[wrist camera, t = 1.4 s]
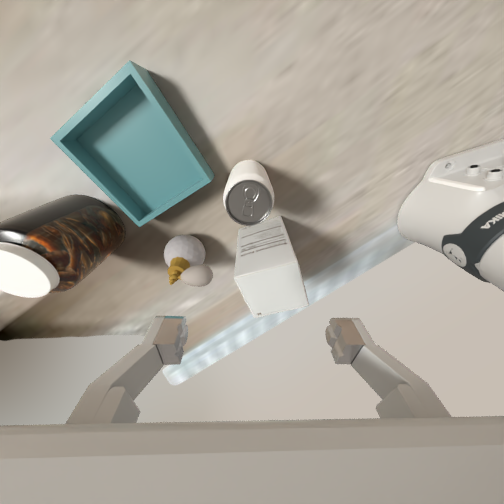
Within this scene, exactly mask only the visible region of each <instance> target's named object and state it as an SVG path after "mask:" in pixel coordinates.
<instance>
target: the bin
mask: <svg viewBox="0 0 504 504" xmlns="http://www.w3.org/2000/svg"><path fill="white" fill-rule="evenodd" d="M50 139H51V140H52V141H53V142H54V143H55V144H56V145H57V146H58V147H59V148H60V149H61V150H62V151H63V152H64V153H65V154H66V155H67V156H68V157H69V158H70V159H71V160H72V161H73V162H74V163H75V164H76V165H77V166H78V167H79V168H80V169H81V170H82V171H83V172H84V173H85V174H86V175H87V176H88V177H89V178H90V179H91V180H92V181H93V182H94V183H95V184H96V185H97V186H98V187H99V188H100V189H101V190H102V191H103V192H104V193H105V194H106V195H107V196H108V197H109V198H110V199H111V200H112V201H113V202H114V203H115V204H116V205H117V206H118V207H119V208H120V209H121V210H122V211H123V212H124V213H125V214H126V215H127V216H128V217H129V218H130V219H131V220H132V221H133V222H134V223H135V224H136V225H137V226H138V227H141V226H142V225H144V224H145V223H147V222H148V221H150V220H152V219H153V218H155V217H156V216H158V215H159V214H161V213H163V212H164V211H166V210H167V209H169V208H170V207H172V206H173V205H175V204H177V203H178V202H180V201H181V200H183V199H184V198H186V197H187V196H189V195H191V194H192V193H194V192H195V191H197V190H198V189H200V188H202V187H203V186H205V185H206V184H208V183H209V182H211V181H212V179H213V178H214V176H215V175H214V173H213V172H212V170H211V168H210V167H209V165H208V164H207V162H206V161H205V159H204V158H203V156H202V155H201V153H200V151H199V150H198V148H197V147H196V145H195V144H194V142H193V141H192V139H191V138H190V136H189V134H188V133H187V131H186V130H185V128H184V127H183V125H182V124H181V122H180V121H179V119H178V117H177V116H176V114H175V113H174V111H173V110H172V108H171V107H170V105H169V104H168V102H167V101H166V99H165V97H164V96H163V94H162V93H161V91H160V90H159V88H158V87H157V85H156V84H155V82H154V80H153V79H152V77H151V76H150V74H149V73H148V71H147V70H146V69H145V68H143V67H141V66H139V65H137V64H135V63H134V62H132V61H129V62H128V63H127V64H125V65H124V66H123V67H122V68H121V69H120V70H119V71H118V72H117V73H116V74H115V75H114V76H113V77H112V78H111V79H110V80H109V81H108V82H107V83H106V84H105V85H104V86H103V87H102V88H101V89H100V90H99V91H98V92H97V93H96V94H95V95H94V96H93V97H92V98H91V99H90V100H89V101H88V102H87V103H86V104H85V105H84V106H83V107H82V108H81V109H80V110H79V111H78V112H77V113H76V114H74V115H73V116H72V117H71V118H70V119H69V120H68V121H67V122H66V123H65V124H64V125H63V126H62V127H61V128H60V129H59V130H58V131H57V132H56V133H55V134H54V135H53V136H52V137H51V138H50Z"/></svg>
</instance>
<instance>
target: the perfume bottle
mask: <svg viewBox="0 0 504 504" xmlns="http://www.w3.org/2000/svg"><path fill="white" fill-rule="evenodd" d="M164 258H165V262H166V264H167V265H168V267H169V268H168V274H169V275H170V277H169V280H170V281H169V283H170V285H172V284H173V283H174V282H175V281H177V280H178V279H180V280H181V281H183V282H184V283H185V284H188V285H191V286H198V287H200V286H205V285H207V284H209V283H210V282H211V280H212V278H213V273H212V270H211V268H210V267H208V266H206V265H202V264H203V262H204V260H205V249H204V246H203V244H202V243H201V242H200V241H199V239H197V238H195V237H194V236H191V235H179V236H176V237H174V238H172V239H171V240H170V241H169V242H168V243H167V245H166V247H165V250H164Z"/></svg>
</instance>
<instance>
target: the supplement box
mask: <svg viewBox="0 0 504 504" xmlns="http://www.w3.org/2000/svg"><path fill="white" fill-rule="evenodd" d="M234 280H235V282H236V283H237V285H238V287H239V289H240V291H241V293H242V295H243V297H244V300H245V302H246V303H247V305H248V307H249V309H250V311H251V313H252V315H253V316H254V318H258V317H262V316H266V315H270V314H274V313H279V312H283V311H288V310H293V309H298V308H302V307H305V306H309V303H308V298H307V294H306V290H305V286H304V282H303V278H302V274H301V271H300V267H299V263H298V260H297V258H296V255H295V252H294V250H293V247H292V244H291V241H290V239H289V236H288V233H287V230H286V228H285V225H284V222H283V220H282V217H281V216H278V217H275V218H272V219H269V220H265V221H263V222H261V223H259V224H257V225H253V226H247V227H244V228H241V229H239V231H238V242H237V252H236V262H235V272H234Z"/></svg>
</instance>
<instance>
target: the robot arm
mask: <svg viewBox="0 0 504 504" xmlns="http://www.w3.org/2000/svg"><path fill="white" fill-rule="evenodd" d="M446 165H447V166H446ZM445 166H446V167H445ZM397 226H398V230H399V232H400V234H401V235H402V236H403V237H404V238H406V239H407V240H410V241H413V242H417V243H420V244H423V245H425V246H428V247H430V248H432V249H434V250H436V251H438V252H440V253H442V254H444V255H445V256H446V257H447V258H448V259H450V260H451V261H452V262H454V263H455V264H456V265H458V266H459V267H461V268H462V269H464V270H465V271H467V272H468V273H470V274H472V275H473V276H475V277H476V278H478V279H480V280H482V281H484V282H489V283H492V284H493V285H495V286H497V287H498V288H499V289H501V290H502V291H504V139H500V140H497V141H494V142H491V143H488V144H485V145H482V146H479V147H476V148H472V149H469V150H466V151H463V152H460V153H457V154H454V155H451V156H448V157H444V158H441V159H438V160H436V161H435V162H433V163H432V164H431V165H430V167H429V168H428V170H427V172H426V174H425V175H424V177H423V179H422V181H421V182H420V184H419V185H418V186H417V187H416V188H415V189H414V190H413V191H412V192H411V193H410V195H409V196H408V197H407V199H406V200H405V201H404V203H403V205H402V207H401V209H400V211H399V214H398V219H397ZM185 323H186V317H182V316H156V317H155V318H154V319H153V321H152V323H151V325H150V327H149V329H148V331H147V333H146V336H145V338H144V340H143V342H142V344H141V345H137V346H136V347H135V348H134V349H132V350H131V351H130V352H129V353H128V354H126V355H125V356H124V357H123V358H121V359H120V360H119V361H118V362H117V363H115V364H114V365H113V366H112V367H111V368H109V369H108V370H107V371H106V372H105V373H103V374H102V375H101V376H100V377H99V378H97V379H96V380H95V381H94V382H92V383H91V384H90V385H89V386H88V388H87V389H86V391H85V393H84V394H83V396H82V397H81V399H80V401H79V402H78V404H77V406H76V407H75V409H74V411H73V412H72V414H71V416H70V417H69V419H68V420H67V422H66V424H58V425H57V424H52V425H6V426H5V425H4V426H0V504H504V416H489V417H488V416H486V417H451V415H450V414H449V412H448V411H447V410H446V409H445V407H444V405H443V404H442V403H441V401H440V400H439V398H438V397H437V396H436V394H435V393H434V391H433V390H432V389H431V387H430V386H429V384H428V383H427V382H425V381H424V380H423V379H421V378H420V377H419V376H418V375H416V374H415V373H414V372H412V371H411V370H410V369H409V368H407V367H406V366H405V365H403V364H402V363H401V362H399V361H398V360H397V359H396V358H394V357H393V356H392V355H390V354H389V353H388V352H387V351H385V350H384V349H383V348H381V347H380V346H379V345H378V346H377V345H375V343H374V341H373V340H372V338H371V336H370V335H369V333H368V332H367V330H366V328H365V326H364V325H363V323H362V321H361V320H360V319H359V318H331V319H330V321H329V323H330V325H329V326H328V327H327V329H326V340H327V342H328V344H329V345H330V346H331V347H332V350H331V353H332V355H333V358H334V361H335V363H336V364H351V366H352V367H353V368H354V369H355V370H356V371H357V372H358V373H359V374H360V376H361V377H362V378H363V379H364V380H365V381H366V382H367V383H368V384H369V385H370V387H372V389H374V391H375V392H376V393H377V394H378V395H379V396H380V397H381V398H382V401H381V402H380V403H379V404H378V405H377V406H376V409H377V412H378V414H379V416H380V418H379V419H378V418H377V419H327V420H325V419H323V420H269V421H216V422H165V423H164V422H163V423H162V422H160V423H136V422H137V419H138V417H139V414H140V410H139V408H138V407H137V405H136V404H135V402H134V399H135V398H136V397H137V396H138V395H139V394H140V392H141V391H142V390H143V389H144V388H145V387H146V385H147V384H148V383H149V382H150V381H151V380H152V378H153V377H154V376H155V375H156V374H157V373H158V371H159V370H160V369H161V368H162V367H163V365H169V364H180V363H181V359H182V356H183V352H184V351H183V346H184V345H185V344H186V341H187V336H188V326H187V325H186V324H185Z"/></svg>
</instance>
